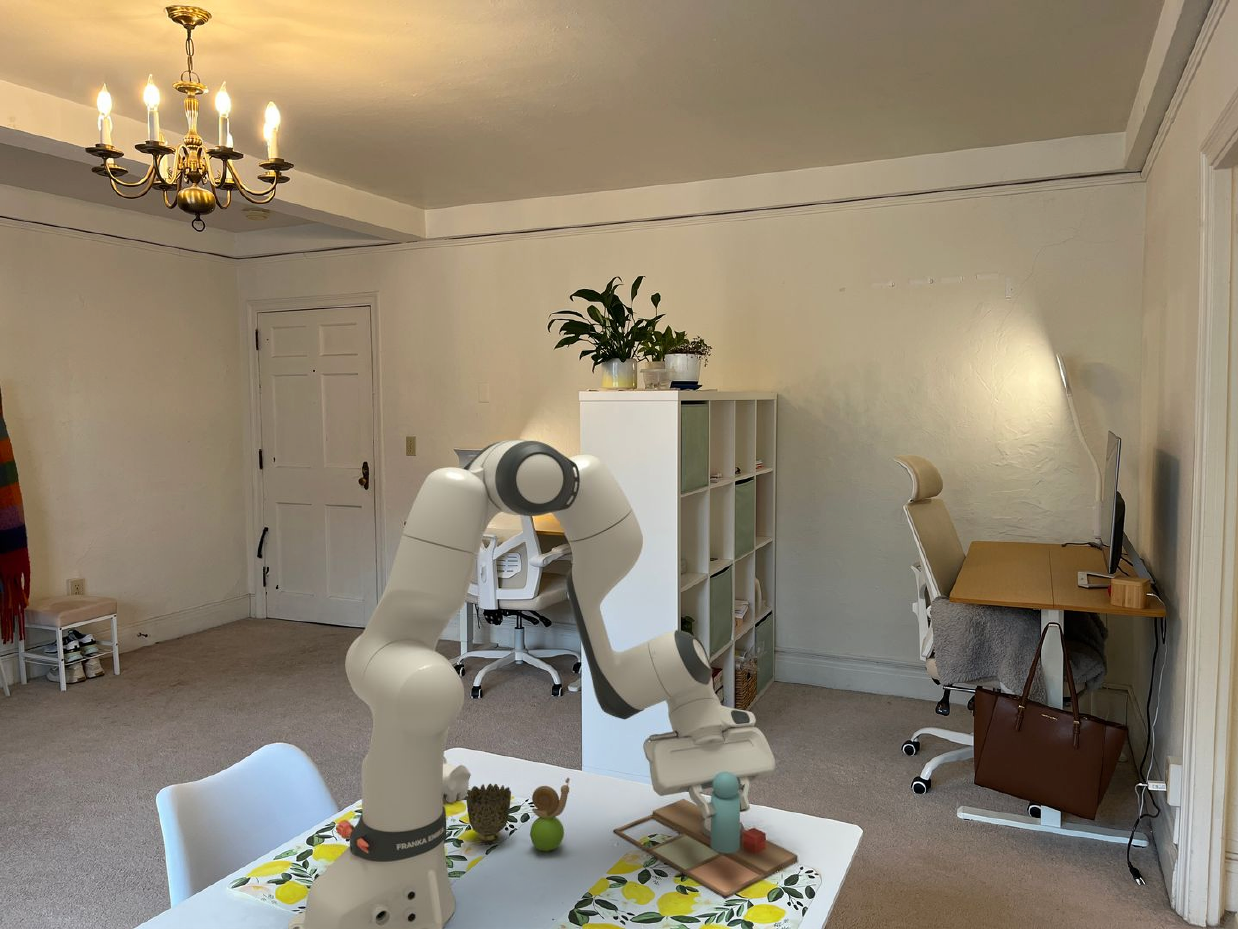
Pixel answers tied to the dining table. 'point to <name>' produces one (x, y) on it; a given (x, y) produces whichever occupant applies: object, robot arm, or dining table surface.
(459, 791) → the elephant figurine
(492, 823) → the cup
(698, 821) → the game board
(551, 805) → the snail figurine
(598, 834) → the dining table surface
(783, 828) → the dining table surface
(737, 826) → the pawn
